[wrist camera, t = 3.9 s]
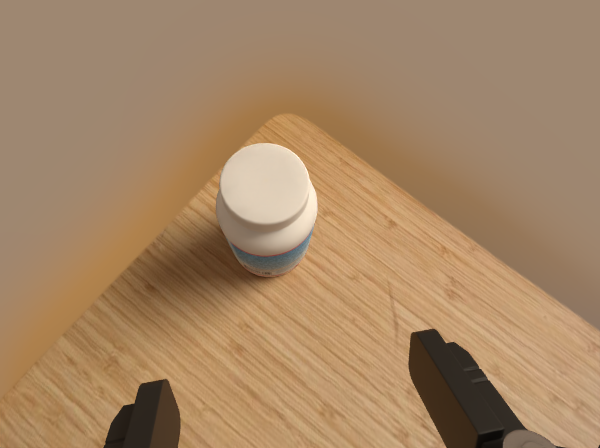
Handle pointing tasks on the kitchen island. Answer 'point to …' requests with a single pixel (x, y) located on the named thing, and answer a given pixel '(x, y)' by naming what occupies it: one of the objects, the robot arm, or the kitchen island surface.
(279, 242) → the pill bottle
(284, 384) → the kitchen island surface
